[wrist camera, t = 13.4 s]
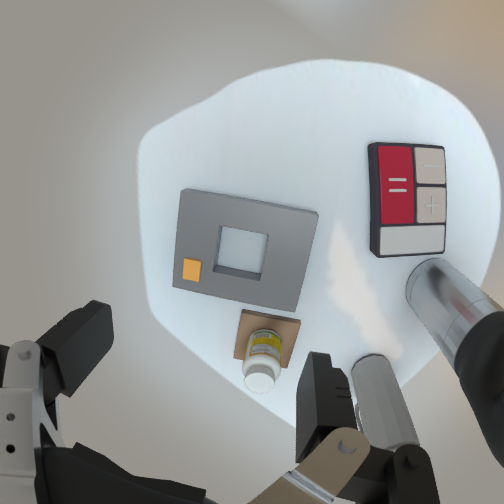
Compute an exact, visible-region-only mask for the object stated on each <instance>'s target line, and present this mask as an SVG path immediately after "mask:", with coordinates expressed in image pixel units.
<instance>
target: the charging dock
mask: <svg viewBox="0 0 504 504" xmlns="http://www.w3.org/2000/svg"><path fill="white" fill-rule="evenodd" d="M318 217H319V216H318V214H317V212H313V211H308V210H303V209H298V208H293V207H288V206H283V205H278V204H273V203H268V202H262V201H257V200H252V199H246V198H240V197H235V196H229V195H223V194H217V193H211V192H205V191H198V190H192V189H185V190H182V191H181V194H180V203H179V212H178V222H177V232H176V244H175V256H174V270H173V285H172V287H176V288H180V289H184V290H189V291H193V292H197V293H202V294H206V295H211V296H215V297H220V298H224V299H229V300H234V301H238V302H243V303H248V304H253V305H258V306H263V307H268V308H273V309H278V310H284V311H289V312H295V310H296V307H297V303H298V299H299V295H300V292H301V288H302V284H303V280H304V276H305V272H306V268H307V264H308V260H309V256H310V251H311V247H312V243H313V239H314V234H315V230H316V226H317V221H318ZM222 226H225V227H230V228H236V229H241V230H246V231H251V232H256V233H262V234H267V235H269V237H268V242H267V248H266V253H265V258H264V263H263V268H262V273H261V274H257V273H252V272H247V271H242V270H237V269H232V268H227V267H222V266H217V259H218V252H219V245H220V237H221V230H222Z"/></svg>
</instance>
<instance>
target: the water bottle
mask: <svg viewBox="0 0 504 504" xmlns="http://www.w3.org/2000/svg"><path fill="white" fill-rule="evenodd" d="M351 374H352V379H353V384H354V388H355V393H356V397H357V402H358V403H357V404H356V405H355V415H356V420H357V423H358V426H359V429H360V432H362V433H363V434H364V435H365V436H366V437H367V439H368V440H369V443H370V445H372V446H374V447H377V448H381V449H385V450H389V451H393V452H395V451H396V450H397V449H398V448H399V447H400V446H402V445H405V444H414V445H417V446H419V447H420V443H419V440H418V437H417V434H416V431H415V428H414V425H413V422H412V420H411V417H410V414H409V411H408V409H407V406H406V403H405V401H404V398H403V395H402V393H401V390H400V388H399V385H398V383H397V380H396V378H395V375H394V373H393V370H392V368H391V365H390V363H389V361H388V360H387V359H386V358H385V357H384V356H377V355H372V356H369V357H365V358H363V359H362V360H360V361H359V362H358V363H356V365H355V366H354V368H353V370H352V372H351ZM359 411H360V416H361V421H362V424H361V421H360V418H359ZM362 425H363V427H362ZM363 430H364V431H363Z"/></svg>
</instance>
